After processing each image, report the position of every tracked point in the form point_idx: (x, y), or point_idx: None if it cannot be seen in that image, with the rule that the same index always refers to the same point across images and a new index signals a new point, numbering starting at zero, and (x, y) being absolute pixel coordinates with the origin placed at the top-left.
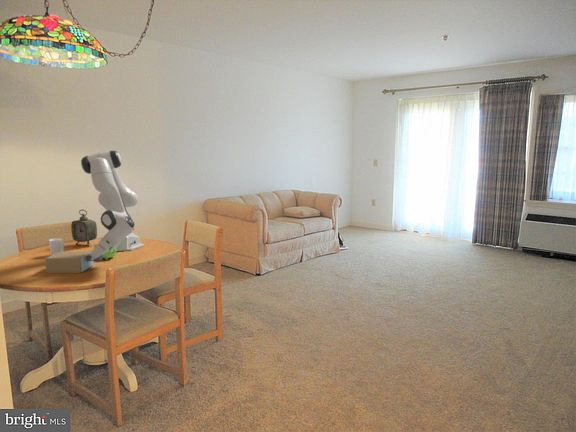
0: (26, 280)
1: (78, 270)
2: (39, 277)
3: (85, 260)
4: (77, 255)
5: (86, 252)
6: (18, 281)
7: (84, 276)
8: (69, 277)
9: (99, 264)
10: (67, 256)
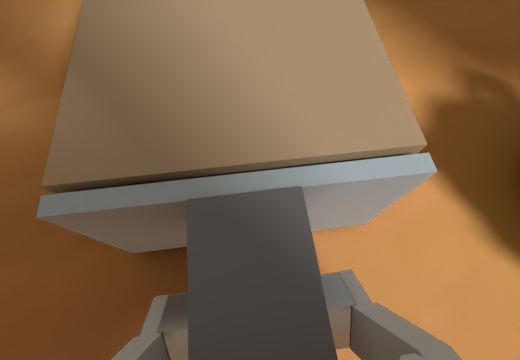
0: (13, 25)
1: None
2: (60, 49)
3: (175, 221)
4: (203, 86)
5: (370, 107)
6: (4, 5)
7: (5, 344)
8: (9, 221)
9: (403, 256)
10: (158, 21)
